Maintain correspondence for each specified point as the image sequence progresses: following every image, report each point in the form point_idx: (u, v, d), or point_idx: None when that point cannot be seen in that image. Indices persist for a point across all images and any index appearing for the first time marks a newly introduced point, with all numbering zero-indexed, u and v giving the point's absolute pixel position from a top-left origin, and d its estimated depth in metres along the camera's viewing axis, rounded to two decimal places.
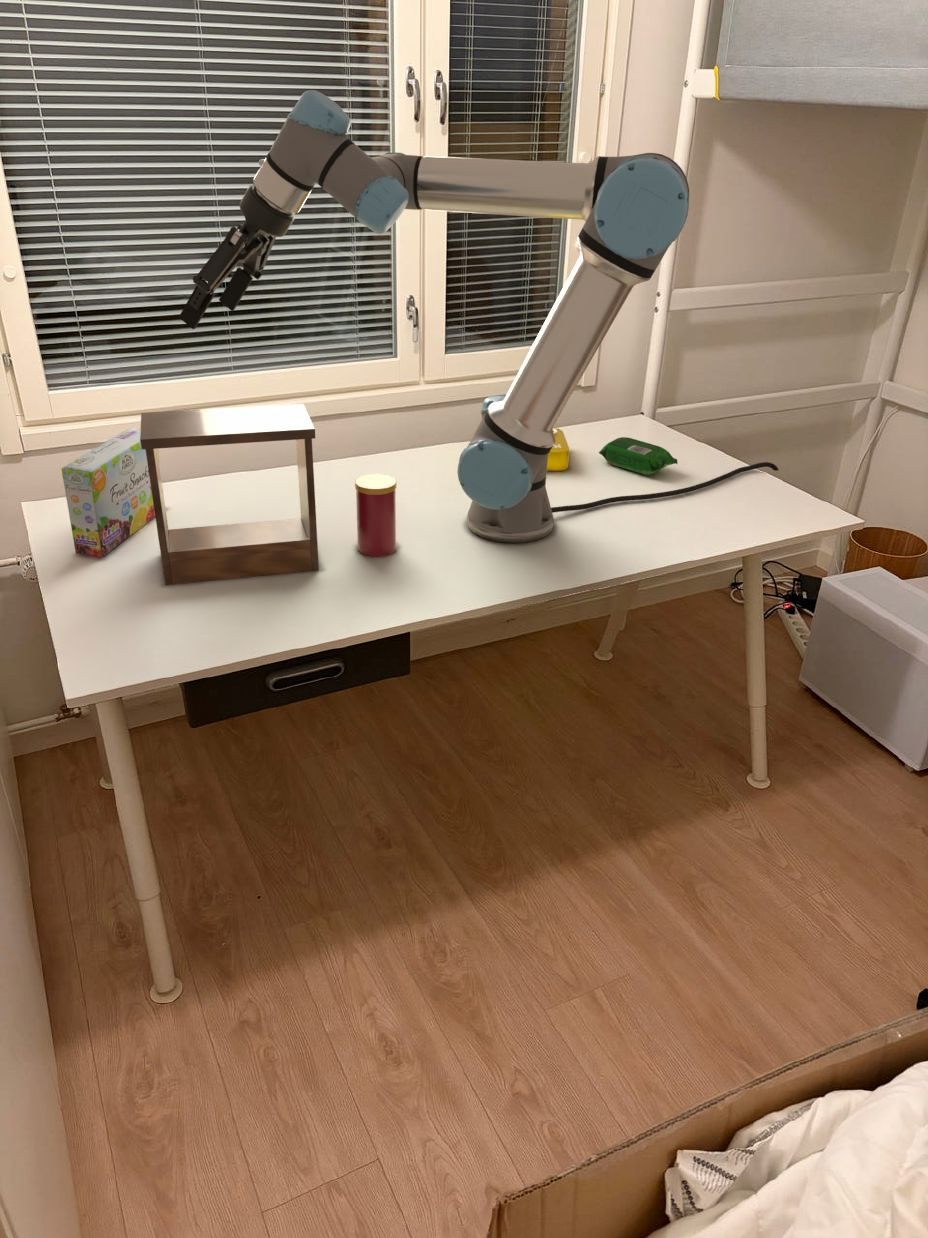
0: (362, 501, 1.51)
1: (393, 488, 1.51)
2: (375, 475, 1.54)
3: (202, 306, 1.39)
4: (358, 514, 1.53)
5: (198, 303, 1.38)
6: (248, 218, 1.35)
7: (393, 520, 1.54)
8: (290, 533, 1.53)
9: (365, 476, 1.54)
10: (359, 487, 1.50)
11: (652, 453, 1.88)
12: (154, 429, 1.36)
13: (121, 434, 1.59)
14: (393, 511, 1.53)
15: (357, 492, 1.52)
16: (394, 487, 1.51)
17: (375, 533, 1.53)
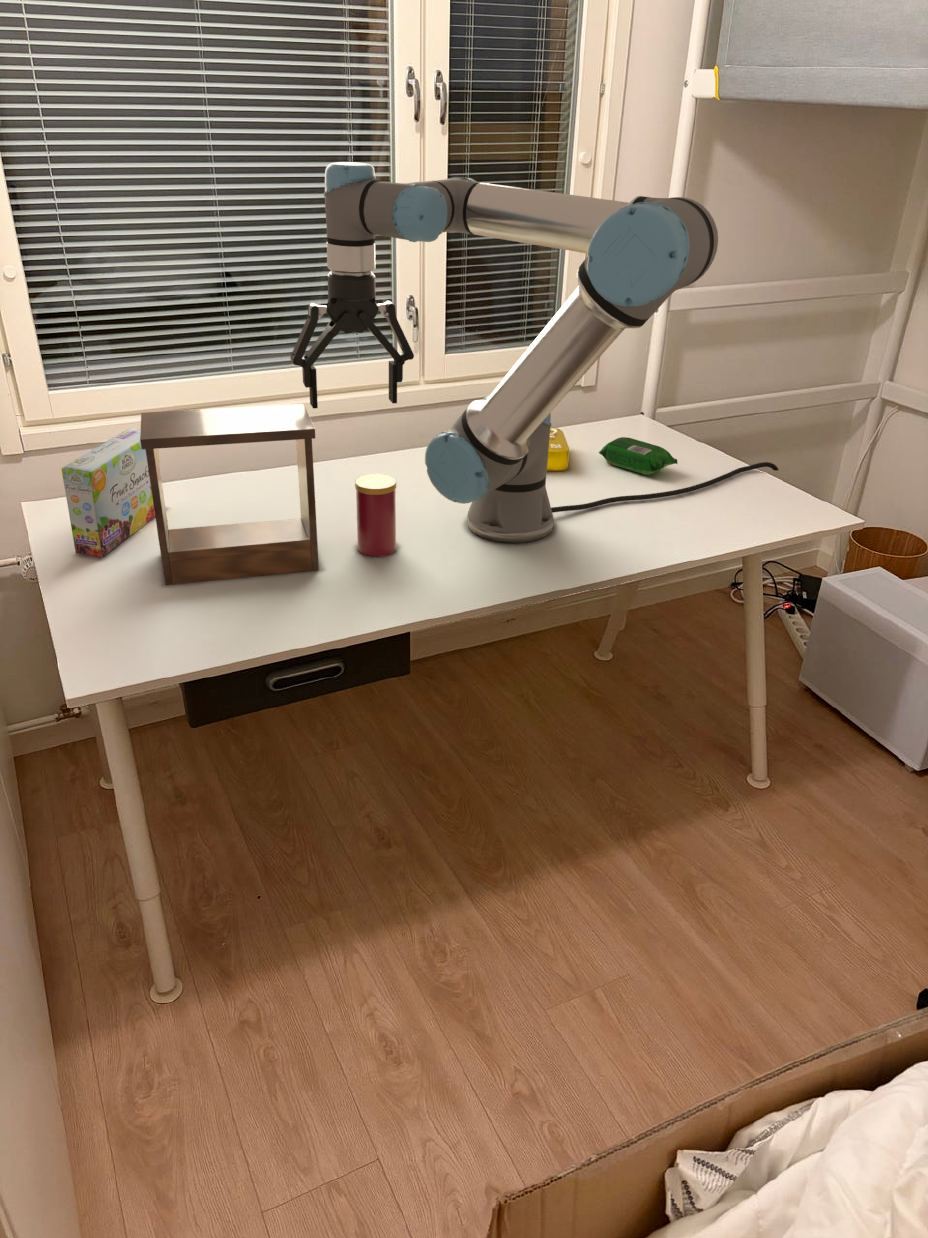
0: (362, 501, 1.51)
1: (393, 488, 1.51)
2: (375, 475, 1.54)
3: (311, 384, 1.53)
4: (358, 514, 1.53)
5: (304, 380, 1.53)
6: (328, 294, 1.49)
7: (393, 520, 1.54)
8: (290, 533, 1.53)
9: (365, 476, 1.54)
10: (359, 487, 1.50)
11: (652, 453, 1.88)
12: (154, 429, 1.36)
13: (121, 434, 1.59)
14: (393, 511, 1.53)
15: (357, 492, 1.52)
16: (394, 487, 1.51)
17: (375, 533, 1.53)
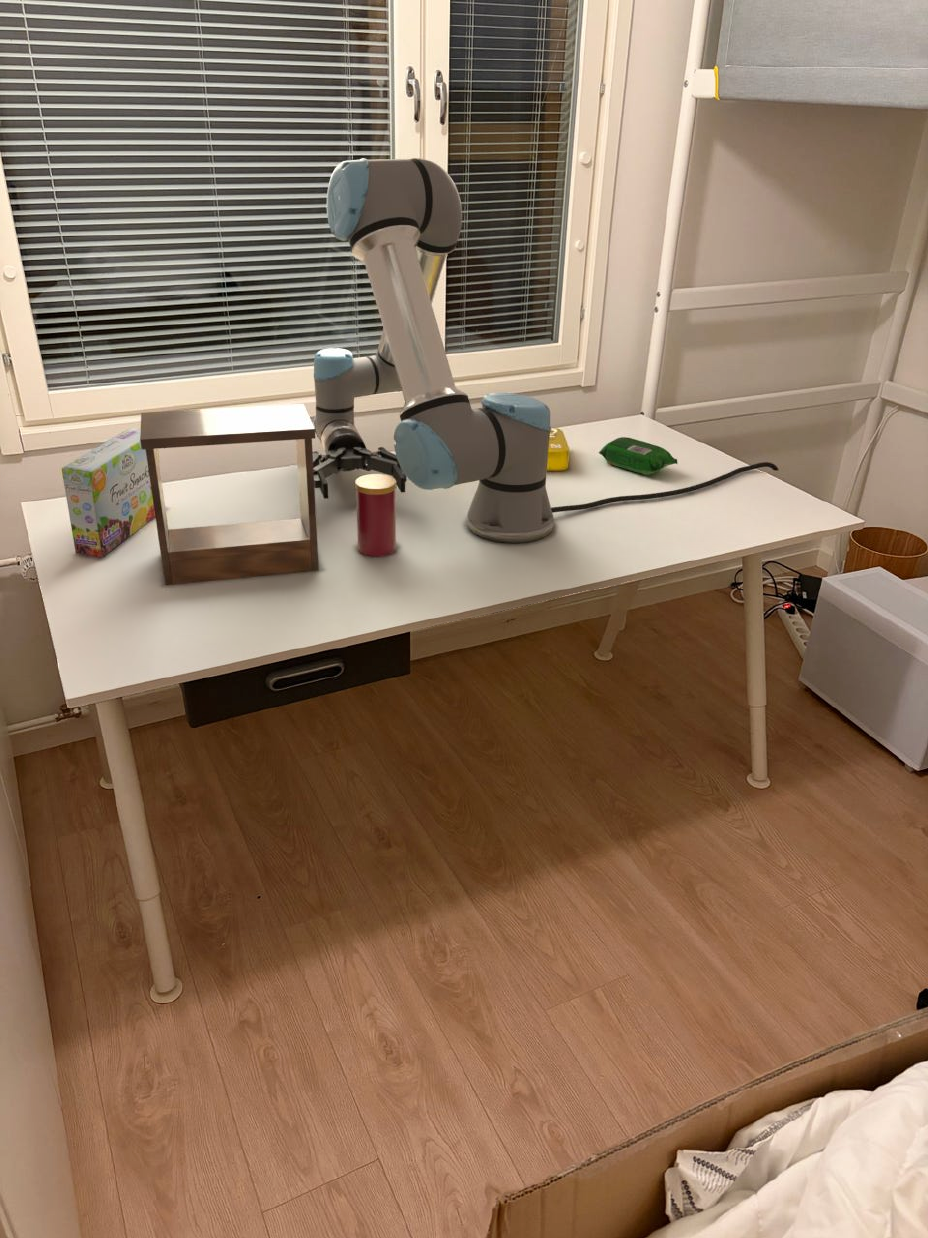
0: (362, 501, 1.51)
1: (393, 488, 1.51)
2: (375, 475, 1.54)
3: (319, 478, 1.64)
4: (358, 514, 1.53)
5: None
6: None
7: (393, 520, 1.54)
8: (290, 533, 1.53)
9: (365, 476, 1.54)
10: (359, 487, 1.50)
11: (652, 453, 1.88)
12: (154, 429, 1.36)
13: (121, 434, 1.59)
14: (393, 511, 1.53)
15: (357, 492, 1.52)
16: (394, 487, 1.51)
17: (375, 533, 1.53)
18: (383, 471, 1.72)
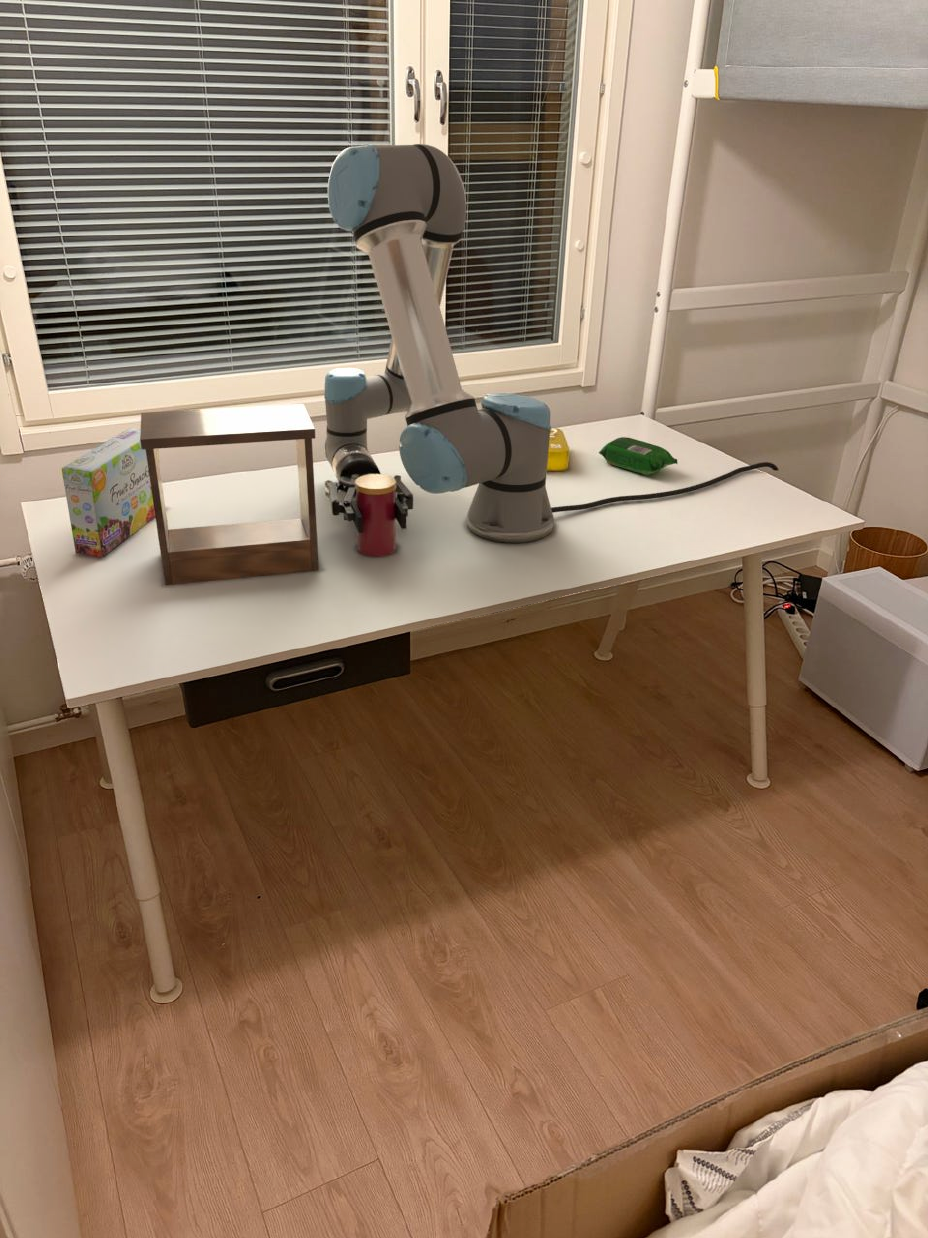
0: (362, 501, 1.51)
1: (393, 488, 1.51)
2: (375, 475, 1.54)
3: (353, 510, 1.52)
4: None
5: (346, 512, 1.53)
6: None
7: (393, 520, 1.54)
8: (290, 533, 1.53)
9: (365, 476, 1.54)
10: (359, 487, 1.50)
11: (652, 453, 1.88)
12: (154, 429, 1.36)
13: (121, 434, 1.59)
14: (393, 511, 1.53)
15: (357, 492, 1.52)
16: (394, 487, 1.51)
17: (375, 533, 1.53)
18: None
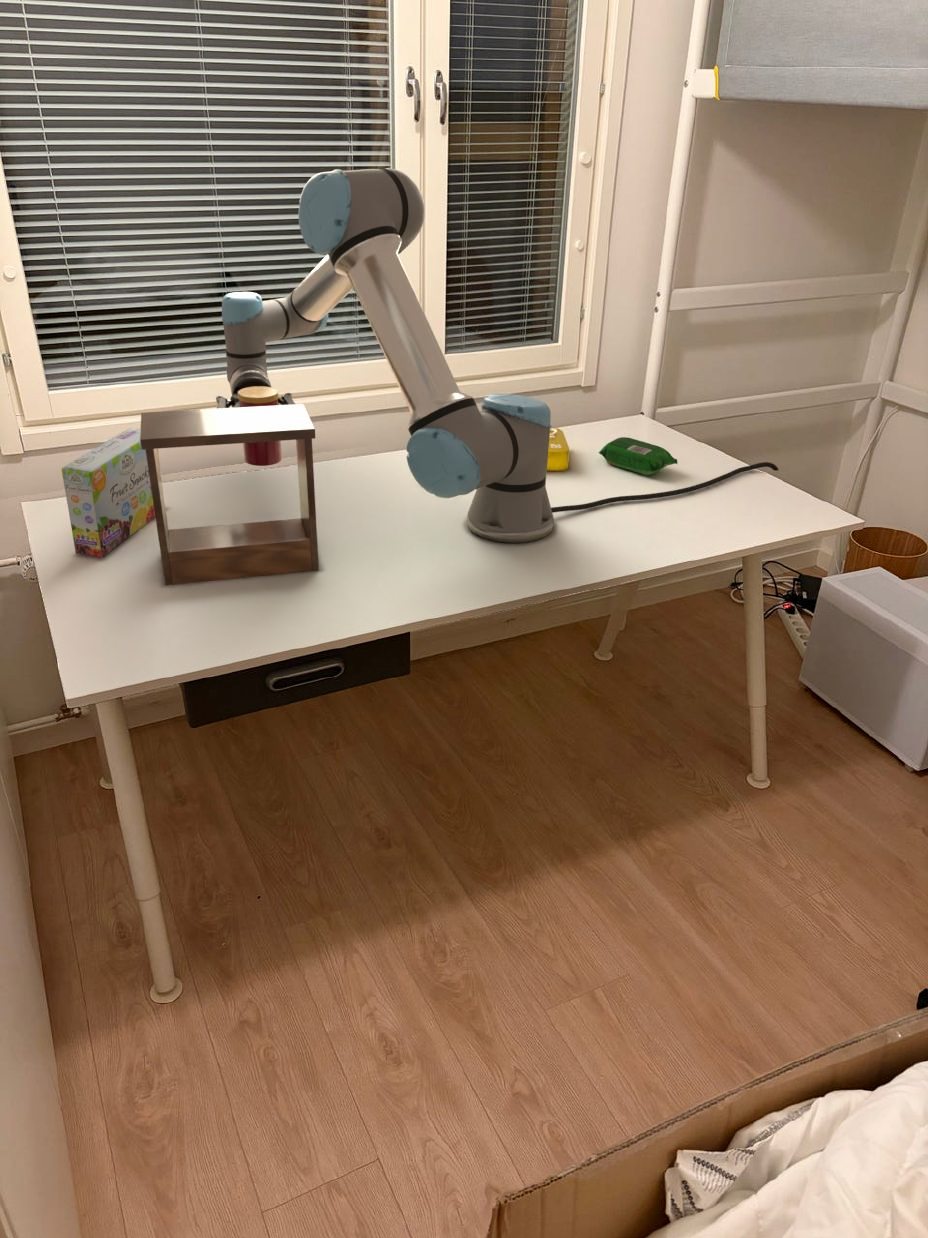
0: None
1: (274, 398, 1.57)
2: (259, 387, 1.60)
3: None
4: None
5: None
6: None
7: None
8: (290, 533, 1.53)
9: (249, 388, 1.59)
10: (241, 396, 1.56)
11: (652, 453, 1.88)
12: (154, 429, 1.36)
13: (121, 434, 1.59)
14: None
15: (240, 402, 1.57)
16: (275, 397, 1.57)
17: (258, 442, 1.59)
18: None
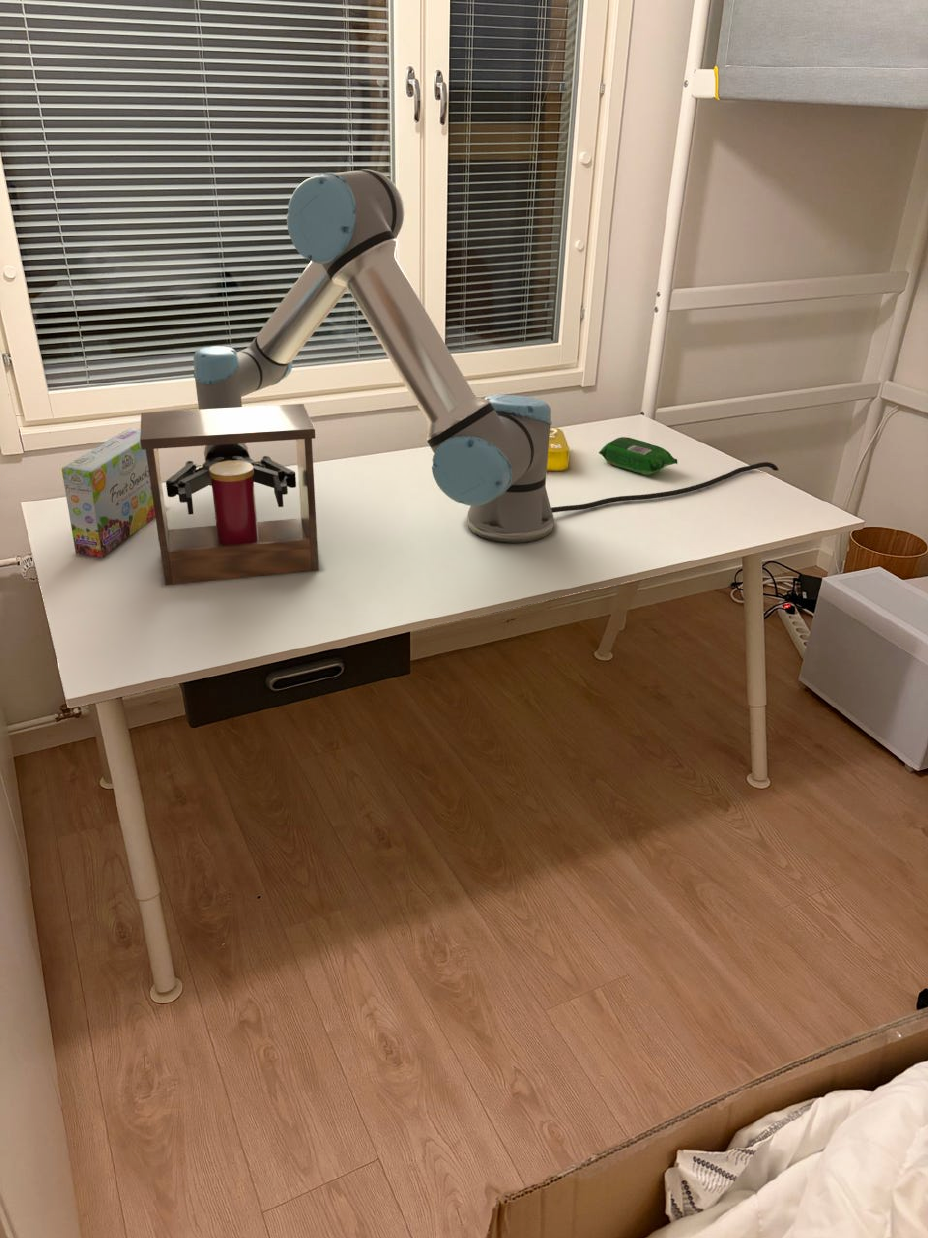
0: (216, 488, 1.44)
1: (249, 475, 1.43)
2: (233, 461, 1.47)
3: (185, 491, 1.45)
4: (214, 502, 1.46)
5: (178, 492, 1.45)
6: None
7: (252, 509, 1.47)
8: (290, 533, 1.53)
9: (222, 463, 1.46)
10: (212, 474, 1.42)
11: (652, 453, 1.88)
12: (154, 429, 1.36)
13: (121, 434, 1.59)
14: (251, 499, 1.46)
15: (211, 479, 1.44)
16: (250, 474, 1.44)
17: (232, 523, 1.46)
18: (264, 483, 1.53)
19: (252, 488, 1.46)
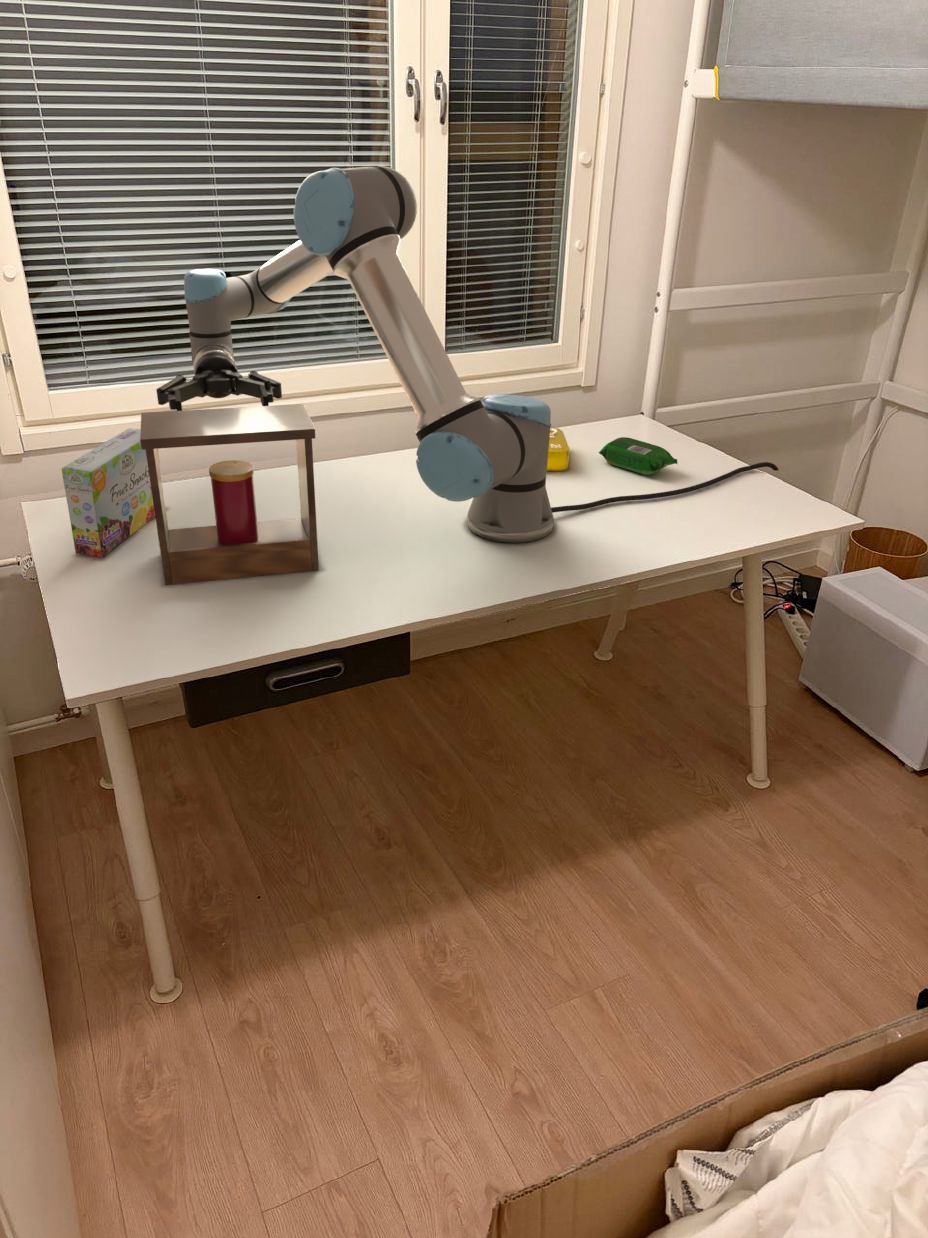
0: (216, 488, 1.44)
1: (249, 475, 1.43)
2: (233, 461, 1.47)
3: (175, 397, 1.51)
4: (214, 502, 1.46)
5: (168, 398, 1.52)
6: None
7: (252, 509, 1.47)
8: (290, 533, 1.53)
9: (222, 463, 1.46)
10: (212, 474, 1.42)
11: (652, 453, 1.88)
12: (154, 429, 1.36)
13: (121, 434, 1.59)
14: (251, 499, 1.46)
15: (211, 479, 1.44)
16: (250, 474, 1.44)
17: (232, 523, 1.46)
18: (251, 394, 1.60)
19: (252, 488, 1.46)
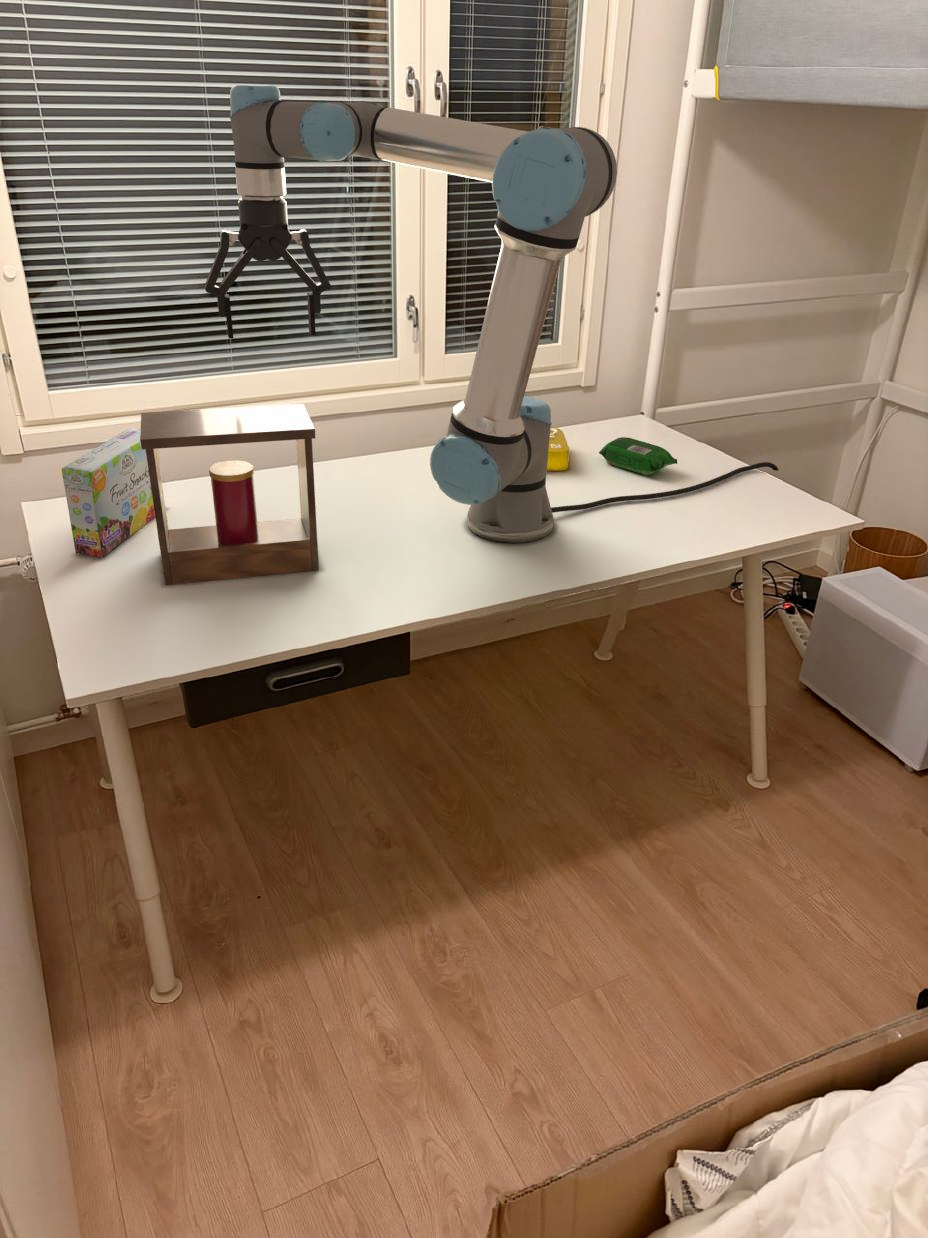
0: (216, 488, 1.44)
1: (249, 475, 1.43)
2: (233, 461, 1.47)
3: (226, 313, 1.53)
4: (214, 502, 1.46)
5: (218, 309, 1.53)
6: None
7: (252, 509, 1.47)
8: (290, 533, 1.53)
9: (222, 463, 1.46)
10: (212, 474, 1.42)
11: (652, 453, 1.88)
12: (154, 429, 1.36)
13: (121, 434, 1.59)
14: (251, 499, 1.46)
15: (211, 479, 1.44)
16: (250, 474, 1.44)
17: (232, 523, 1.46)
18: None
19: (252, 488, 1.46)
